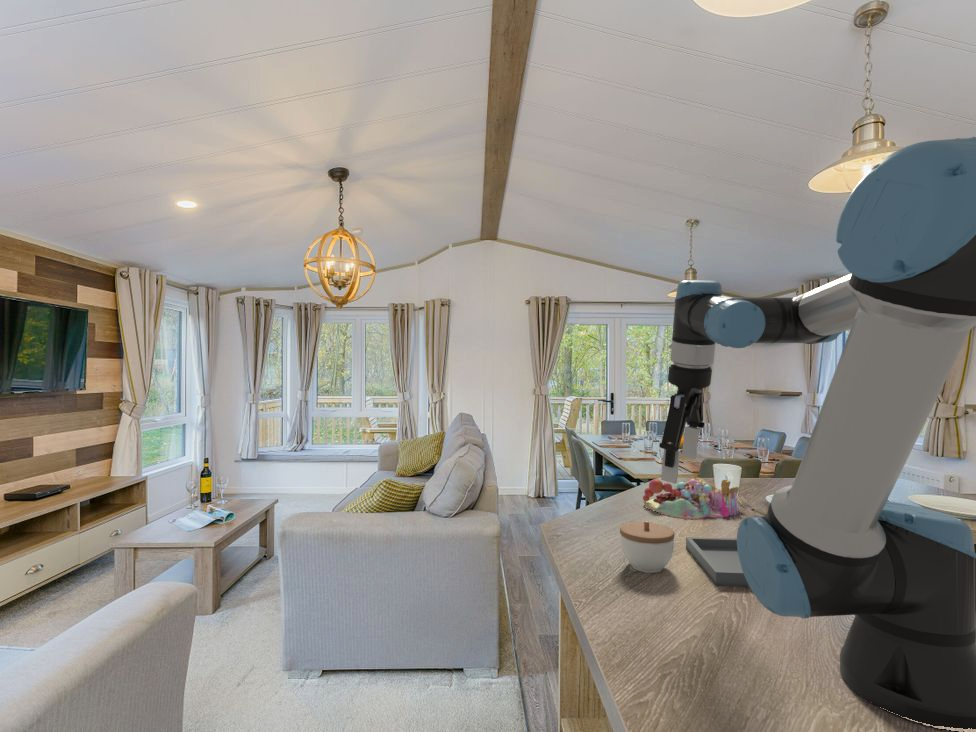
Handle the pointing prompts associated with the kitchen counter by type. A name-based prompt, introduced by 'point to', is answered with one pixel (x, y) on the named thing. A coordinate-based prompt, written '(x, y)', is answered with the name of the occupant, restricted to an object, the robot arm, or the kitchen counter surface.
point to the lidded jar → (647, 545)
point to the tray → (718, 559)
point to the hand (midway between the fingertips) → (679, 468)
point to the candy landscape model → (692, 499)
